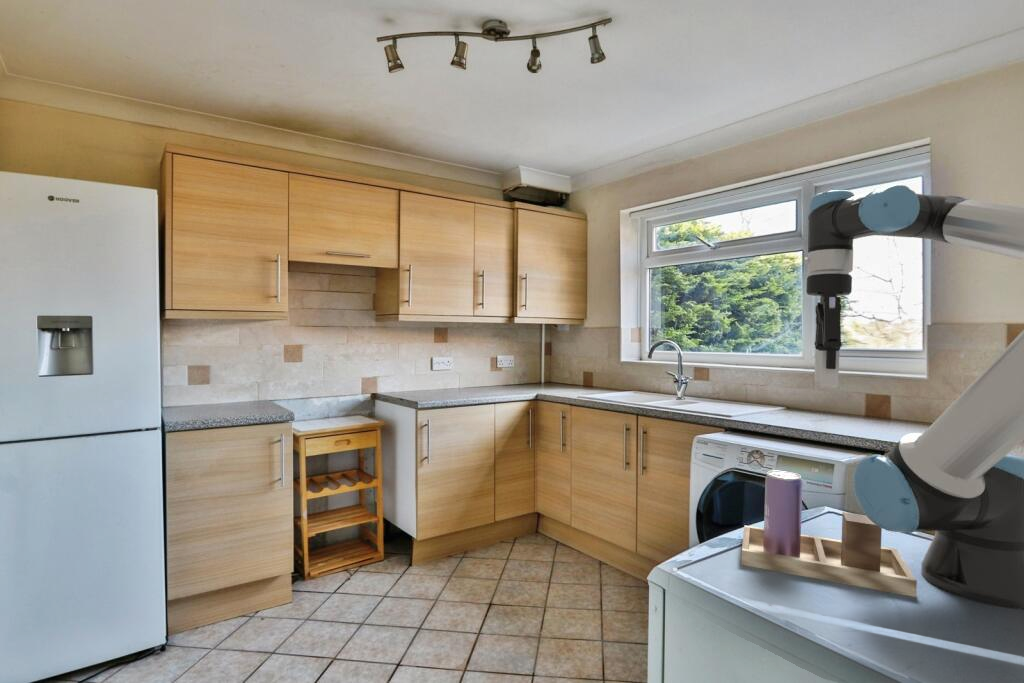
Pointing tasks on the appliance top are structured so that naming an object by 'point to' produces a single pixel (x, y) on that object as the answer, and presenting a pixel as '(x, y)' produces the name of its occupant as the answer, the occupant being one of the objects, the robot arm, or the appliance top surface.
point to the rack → (829, 563)
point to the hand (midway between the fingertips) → (825, 384)
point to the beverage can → (783, 513)
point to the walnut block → (860, 542)
